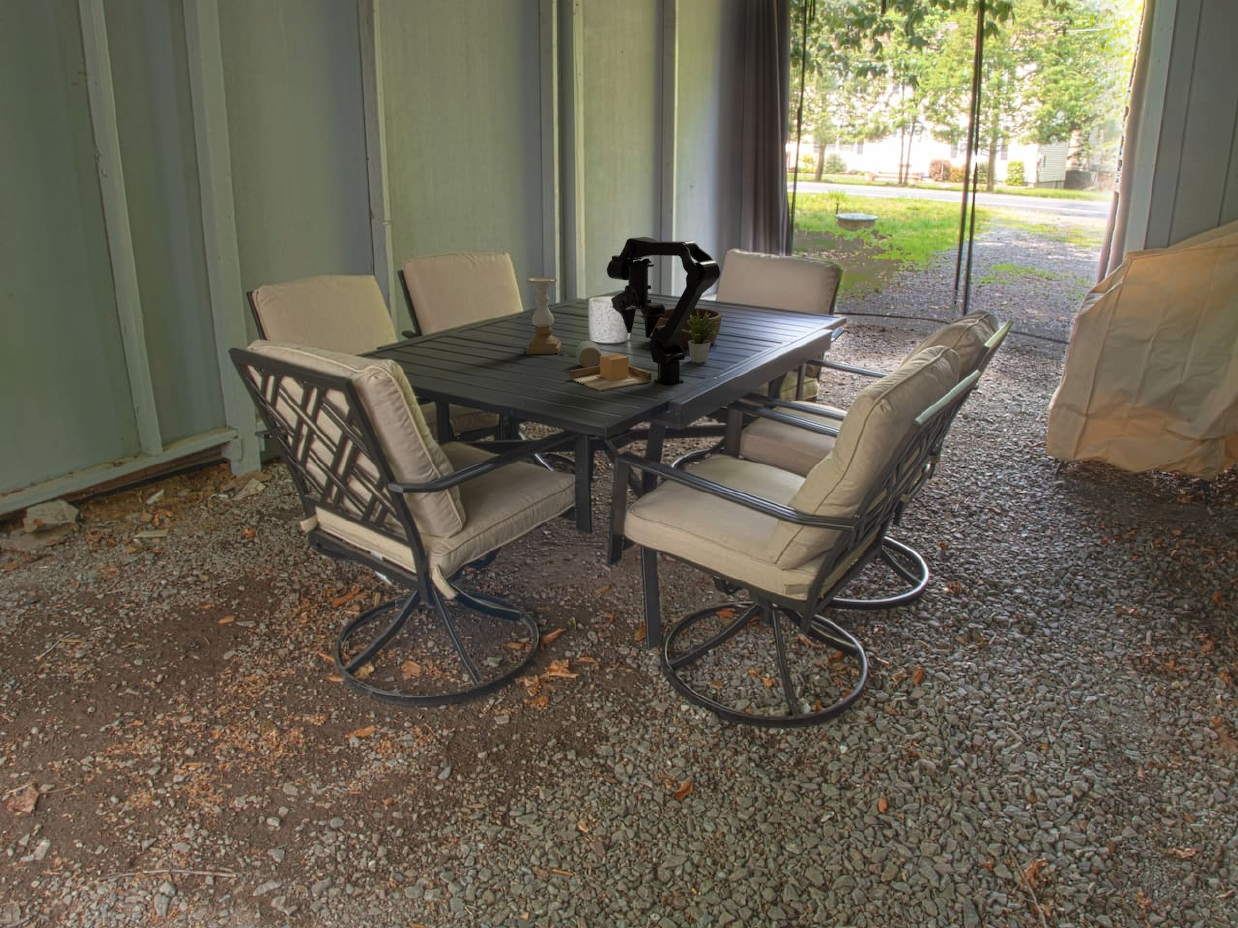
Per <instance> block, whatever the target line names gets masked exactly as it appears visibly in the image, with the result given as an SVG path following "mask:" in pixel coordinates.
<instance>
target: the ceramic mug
mask: <svg viewBox="0 0 1238 928" xmlns="http://www.w3.org/2000/svg"><path fill="white" fill-rule="evenodd" d="M600 356H602V352H601V350H600V347H599V345H598V344H597V343H596V342H594V341H592V340H583V341H581V342H579V344H578V345H577V347H576V348H575V357H576V359H577V361H578V363H579V365H580V366H581V367H582V368H588V367H594V366H600Z"/></svg>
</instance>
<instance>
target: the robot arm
mask: <svg viewBox="0 0 1238 928" xmlns="http://www.w3.org/2000/svg"><path fill="white" fill-rule="evenodd" d="M653 256H666V257H667V256H671V257H675V256H676V257H679V258H680V259H681V264H682V268H683V269H684V271H685V272H686V273H687V274H686V276H685V285H686V287H685V288H684V290H683V293H682V294H681V296H680V298H679V299H678V301H677V303H676V305H675V307H673V308H674V310H673V312H672V314H671V316H670V318H669V319H668V321H667V323H666V325H665V326H661V327H656V328H655V329H654V327H655V325H656V324H657V322H658V320H659V318H660V317H662V314H665V309H666V306H665V305H664V304H663V303H658V302H653V303H652V299H649V290H652V285H651V284H649V268H652V267H655V265H654V262H652V261H651V260H650V257H653ZM648 257H649V258H648ZM694 261H695V262H694ZM606 273H607V276H608V277H609V278H610V279H613V280H619V281H627V282H628V284H627V285H625V287H624V290H623V291H622V292H620V293H618V294H616V295H615V296H613V297H611V298H610V300H611V304H612V308H613V309H614V311H616V312H618V314H620V315H621V317H622V319H623V324H624V326H625V329H626V333H628V334H631V333H632V331H633V327H634V323H635V317H636V311H637V310H639V311H640V312H641V314H642V315H640V317H641V318H642V319H643V321H644V330H645V333H644V334H645V338H646V339H649V342H648V347H649V350H650V354H651V358H652V362H653V363H655V364H657V378H653V381H654V382H656V383H659V384H662V385H665V386H671V385H675V384H680V383H684V382H685V380H684V379H681V377H680V375H681V373H680V372H681V369H680V368H681V365H680V363H681V362H680V361H684V360H685V358H686V355H687V352H686V351H685V348H682V346H681V345H680V342H681V331H682V329H683V327H684V326H685V324H686V322H687V320H688V319H689V317H690V315H691V313H692V311H693V310H694V308H696V307H697V305H698V303H699V300H700V299H701V297H702V295H703V294H704V293H705V292H707V291H708V290H709V289H710V288H711V287H712V286H713V285H714V284H716V282H717V281H718V280H719V278H720V276H721V271H720V266H719V264H718V262H716V261H715V259H713V258H712V257H711V255H710V254H708V253H707V252H706V251H704V250H703V249H702V248H700V247H699V245H698V244H697V242H696V241H693V240H685V241H678V240H677V241H675V240H674V241H670V240H669V241H666V240H662V241H660V240H655V238H652V237H651V238H650V237H647V236H640V237H639V236H638V237H630V238H628V239H626V241H625V244H624V247H623V249H622V251H621V252H620V254H619V255H612V256H611V260H610V261H608V264H607V267H606ZM653 330H654V332H653ZM652 332H653V334H652Z"/></svg>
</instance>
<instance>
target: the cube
mask: <svg viewBox="0 0 1238 928" xmlns="http://www.w3.org/2000/svg"><path fill="white" fill-rule="evenodd" d="M628 365H629V357H628V356H626V355H623V354H620V353H612V354H606V355H605V354H604V355H601V356H600V364H599V366H600V376H601V377H604V378H607V379H609V380H616V379H621V378H627V377H628Z"/></svg>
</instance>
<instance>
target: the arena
mask: <svg viewBox="0 0 1238 928" xmlns="http://www.w3.org/2000/svg"><path fill="white" fill-rule="evenodd" d="M652 374H653V373H652V372H651V371H648V370H646V369H643V368H640V367H637V366H634V365H631V364H628V377H627V378H621V379H616V380H609V379H607V378H604V377H601V376H600V365H598V366H594V367H588V368H584V367H582V368H577V369H571V370H569V379H572V380H574V381H573V382H575V381H576V382H575V383H577V382H579V383H578V384H580V383H581V384H580V385H582V384H584V385H583V386H585V385H586V386H585V387H587V386H588V388H590V387H591V388H590V389H592V388H593V389H592V390H595V389H596V390H595V391H597V390H598V391H597V392H603V391H602V390H604V391H608V390H609V389H610V390H614V388H615V389H619V388H625V387H630V386H635V385H641V384H642V385H643V384H647V383H651V382H652V381H653V380H652V379H653V378H652V376H653V375H652ZM572 380H571V381H572Z"/></svg>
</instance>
